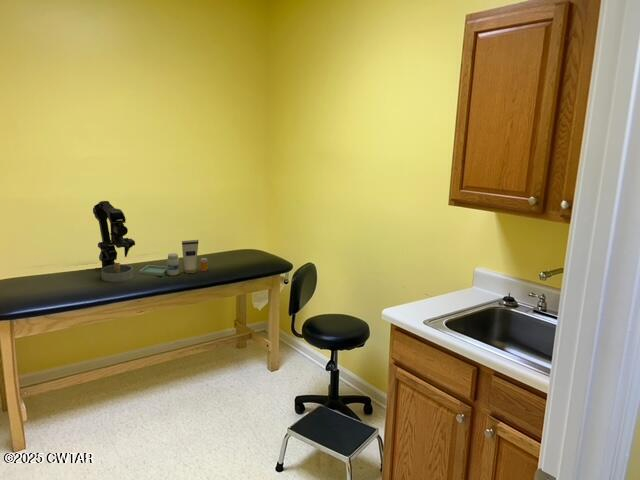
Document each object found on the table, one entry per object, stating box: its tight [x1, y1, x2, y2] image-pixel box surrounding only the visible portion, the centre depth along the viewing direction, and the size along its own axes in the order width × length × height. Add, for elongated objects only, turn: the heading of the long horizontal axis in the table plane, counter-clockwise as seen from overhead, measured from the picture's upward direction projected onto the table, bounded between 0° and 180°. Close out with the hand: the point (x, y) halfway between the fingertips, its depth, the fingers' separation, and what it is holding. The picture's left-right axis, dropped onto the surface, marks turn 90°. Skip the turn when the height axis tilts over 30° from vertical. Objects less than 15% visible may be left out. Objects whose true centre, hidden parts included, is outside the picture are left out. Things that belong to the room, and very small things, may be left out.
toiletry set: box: [166, 239, 209, 276], centre depth 275 cm, size 25×8×20 cm, turn 121°
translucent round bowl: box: [100, 263, 134, 283], centre depth 259 cm, size 17×17×6 cm
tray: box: [138, 264, 167, 277], centre depth 272 cm, size 14×12×2 cm
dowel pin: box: [114, 262, 121, 273], centre depth 259 cm, size 3×3×8 cm
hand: (117, 258), depth 257 cm, fingers open, 9 cm apart
